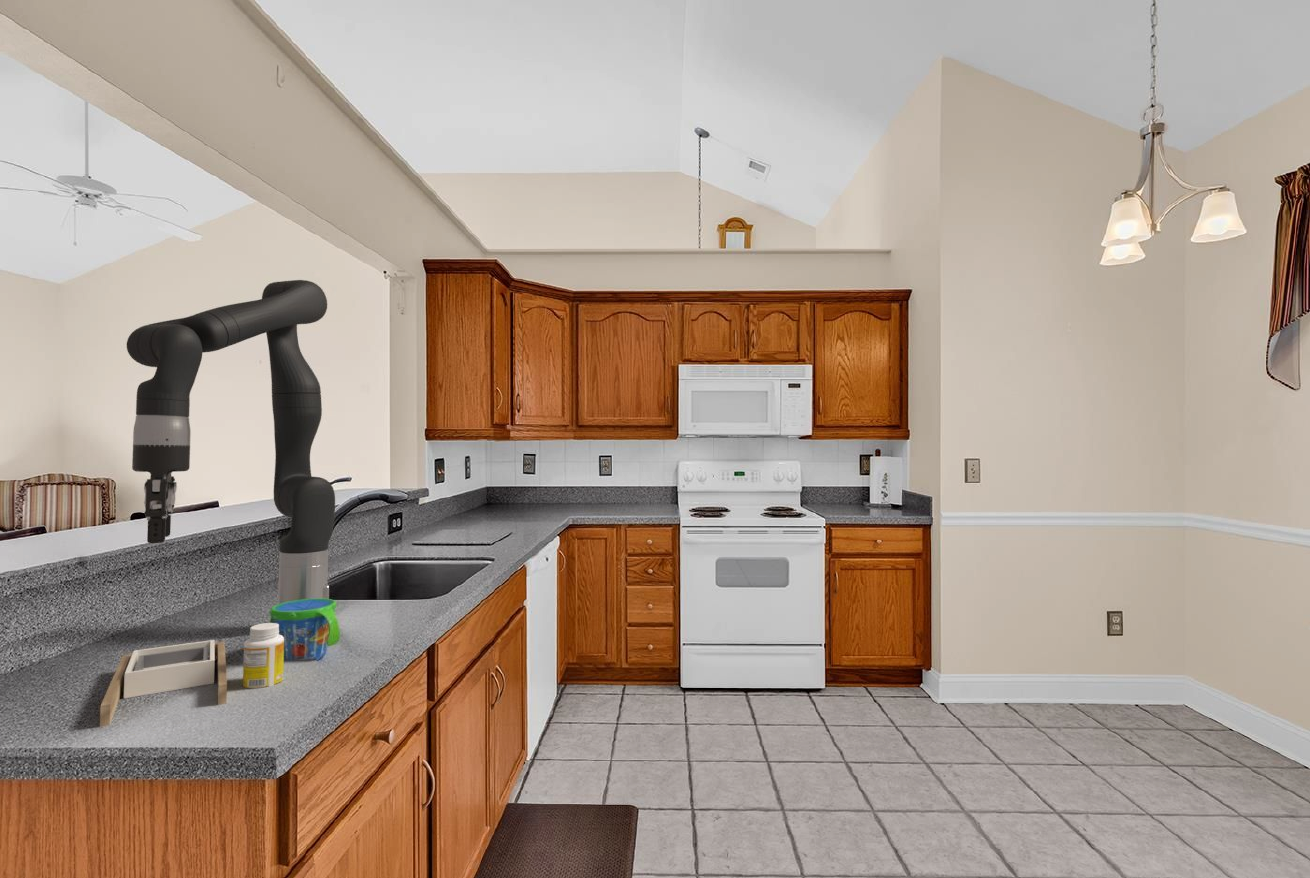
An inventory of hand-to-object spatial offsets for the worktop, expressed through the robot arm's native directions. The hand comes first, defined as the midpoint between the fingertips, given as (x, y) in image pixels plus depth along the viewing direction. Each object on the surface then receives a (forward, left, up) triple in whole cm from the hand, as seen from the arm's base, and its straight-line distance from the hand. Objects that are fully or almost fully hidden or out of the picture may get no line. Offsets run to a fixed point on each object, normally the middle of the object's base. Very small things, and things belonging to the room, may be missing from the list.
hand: (159, 539), depth 102 cm
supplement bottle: (-14, +14, -24) cm, 31 cm away
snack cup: (-21, +1, -24) cm, 32 cm away
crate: (-2, +4, -22) cm, 23 cm away
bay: (-2, +8, -24) cm, 25 cm away
